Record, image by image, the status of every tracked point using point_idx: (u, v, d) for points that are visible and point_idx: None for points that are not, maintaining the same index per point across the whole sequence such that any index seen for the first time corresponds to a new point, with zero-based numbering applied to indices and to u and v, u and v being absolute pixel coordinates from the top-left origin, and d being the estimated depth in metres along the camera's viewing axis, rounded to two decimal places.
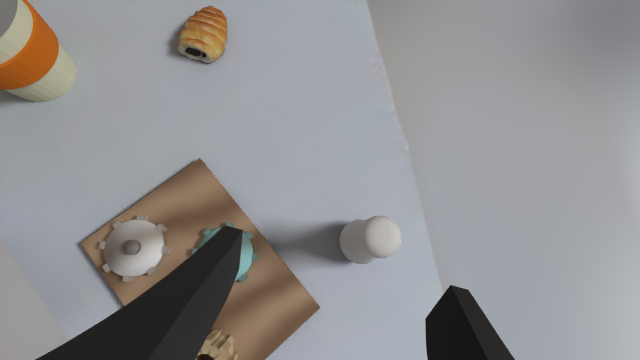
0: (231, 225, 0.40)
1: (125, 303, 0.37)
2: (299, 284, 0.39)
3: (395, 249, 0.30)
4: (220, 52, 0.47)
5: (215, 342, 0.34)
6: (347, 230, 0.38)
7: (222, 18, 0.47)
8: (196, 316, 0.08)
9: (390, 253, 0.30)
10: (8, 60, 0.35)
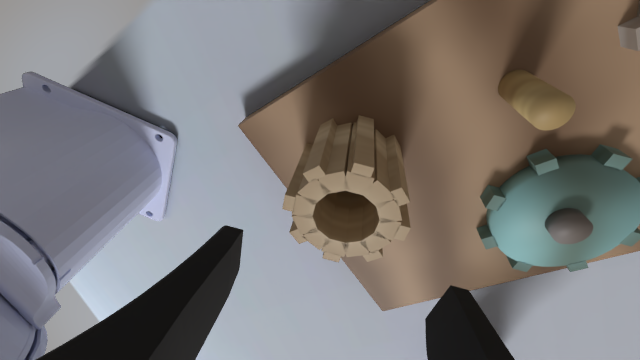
0: (627, 242, 0.16)
1: None
2: (430, 298, 0.22)
3: None
4: None
5: None
6: None
7: None
8: (196, 316, 0.08)
9: None
10: None
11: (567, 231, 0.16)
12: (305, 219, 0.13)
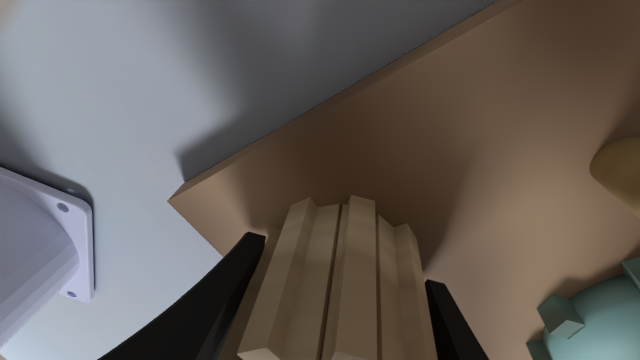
0: None
1: None
2: None
3: None
4: None
5: None
6: None
7: None
8: (225, 324, 0.08)
9: None
10: None
11: None
12: None
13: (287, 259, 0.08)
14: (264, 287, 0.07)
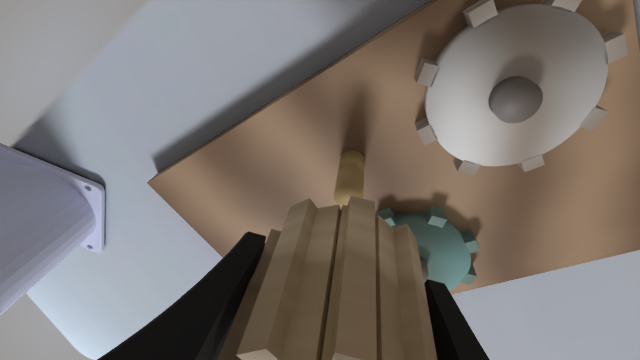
0: (466, 281, 0.20)
1: (363, 53, 0.14)
2: None
3: None
4: None
5: None
6: None
7: None
8: (225, 324, 0.08)
9: None
10: None
11: None
12: None
13: (287, 260, 0.08)
14: (264, 288, 0.07)
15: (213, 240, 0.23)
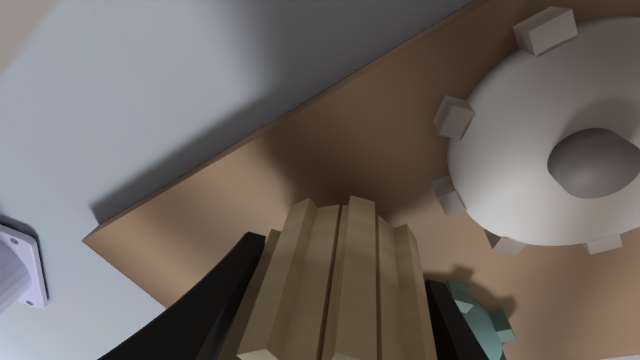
0: None
1: (358, 87, 0.10)
2: None
3: None
4: None
5: None
6: None
7: None
8: (225, 324, 0.08)
9: None
10: None
11: None
12: None
13: (287, 260, 0.08)
14: (264, 288, 0.07)
15: None
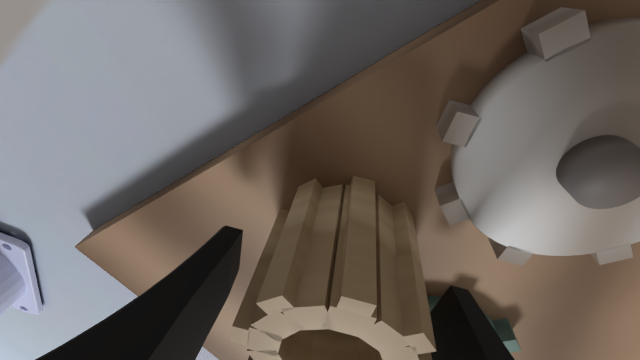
0: None
1: (358, 91, 0.09)
2: None
3: None
4: None
5: None
6: None
7: None
8: (196, 316, 0.08)
9: None
10: None
11: None
12: (267, 356, 0.09)
13: (297, 229, 0.09)
14: (277, 252, 0.08)
15: None
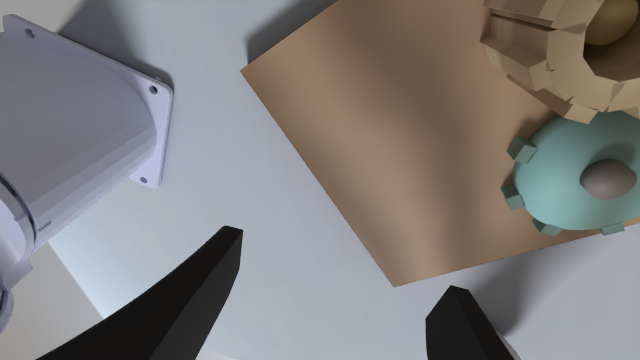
0: None
1: None
2: (445, 271, 0.21)
3: None
4: None
5: None
6: None
7: None
8: (196, 316, 0.08)
9: None
10: None
11: (607, 184, 0.14)
12: (570, 36, 0.08)
13: None
14: None
15: (313, 158, 0.18)
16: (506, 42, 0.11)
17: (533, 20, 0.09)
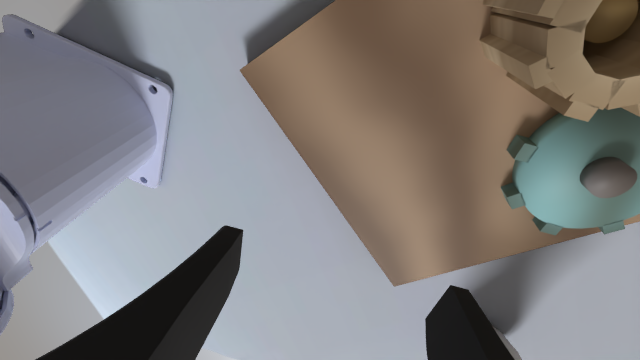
0: None
1: None
2: (446, 270, 0.21)
3: None
4: None
5: None
6: None
7: None
8: (196, 316, 0.08)
9: None
10: None
11: (607, 182, 0.14)
12: (569, 34, 0.08)
13: None
14: None
15: (313, 158, 0.18)
16: (506, 41, 0.11)
17: (533, 18, 0.09)
